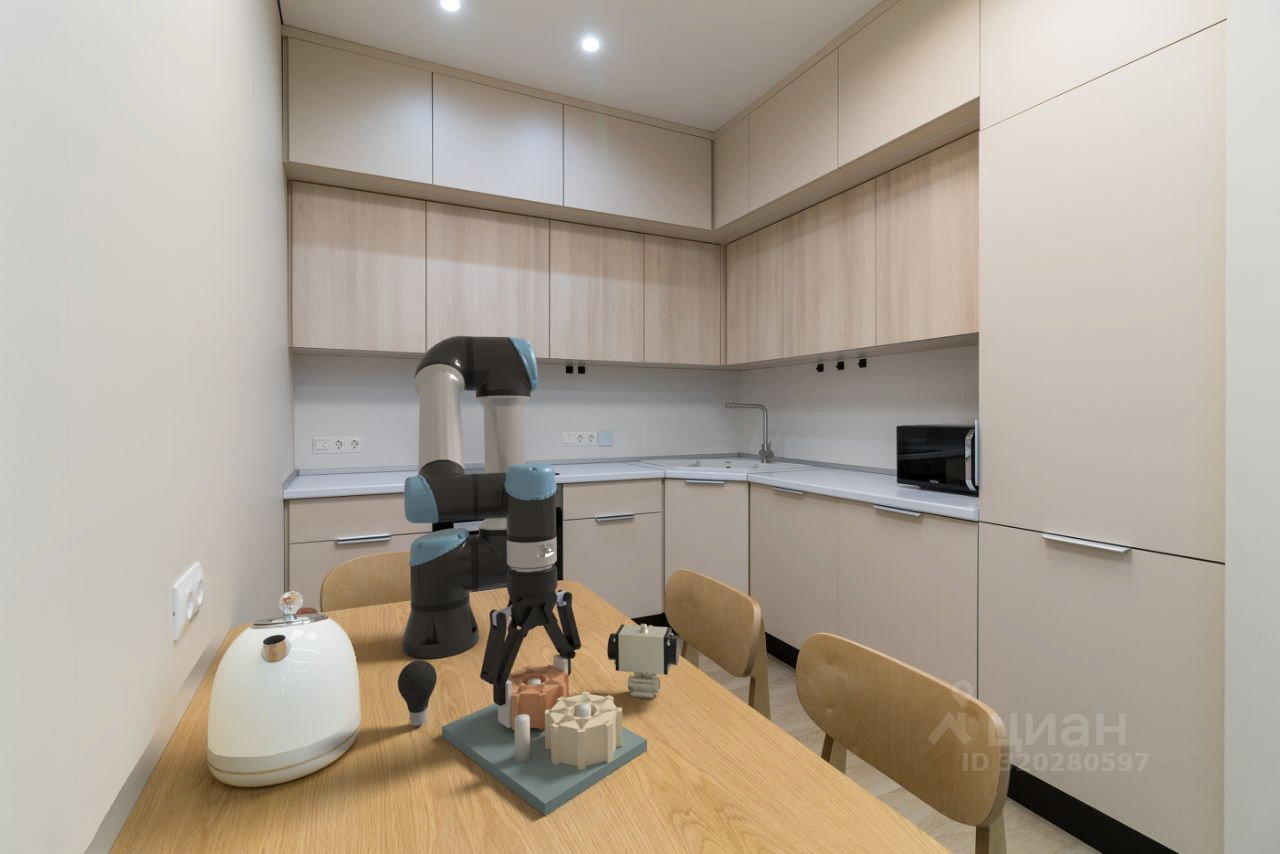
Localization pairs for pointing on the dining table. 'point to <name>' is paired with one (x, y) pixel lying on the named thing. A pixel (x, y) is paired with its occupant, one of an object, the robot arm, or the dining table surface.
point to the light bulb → (417, 689)
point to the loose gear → (537, 692)
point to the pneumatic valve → (643, 656)
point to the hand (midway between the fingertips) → (534, 710)
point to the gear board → (549, 747)
